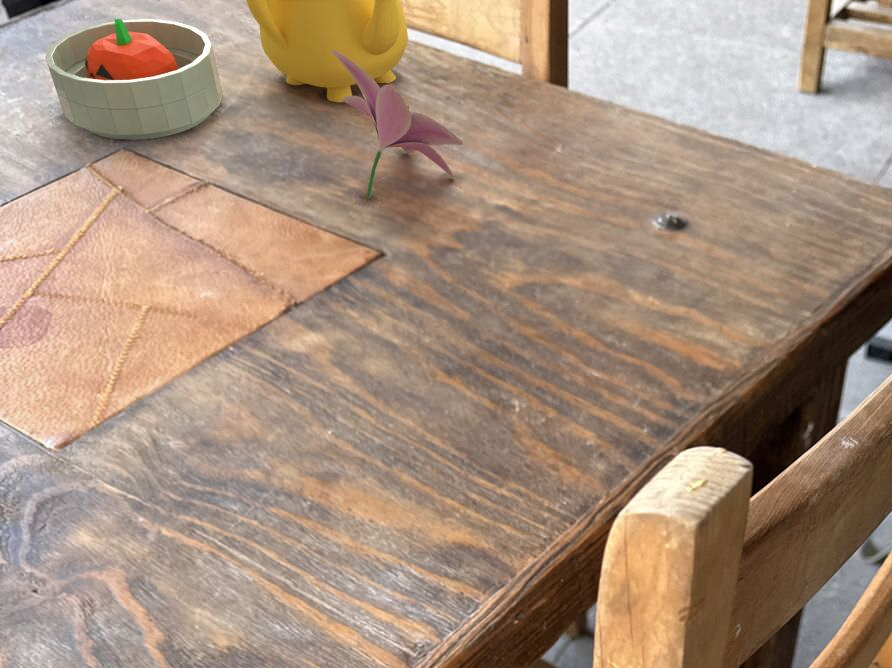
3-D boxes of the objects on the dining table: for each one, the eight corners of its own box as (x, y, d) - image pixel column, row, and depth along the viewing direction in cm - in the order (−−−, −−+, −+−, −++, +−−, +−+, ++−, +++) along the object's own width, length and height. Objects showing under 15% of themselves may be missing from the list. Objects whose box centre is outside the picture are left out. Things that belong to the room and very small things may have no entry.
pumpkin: (166, 122, 103) (145, 41, 98) (84, 112, 104) (59, 31, 99) (200, 90, 108) (182, 11, 103) (121, 80, 109) (99, 1, 104)
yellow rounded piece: (266, 116, 107) (236, -35, 97) (272, 54, 115) (245, -91, 106) (417, 110, 108) (402, -40, 98) (412, 49, 116) (398, -95, 107)
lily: (470, 227, 97) (494, 98, 93) (333, 188, 91) (352, 49, 87) (424, 212, 106) (444, 93, 102) (296, 176, 100) (312, 49, 96)
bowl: (51, 146, 102) (30, 84, 98) (81, 79, 111) (63, 20, 107) (214, 143, 103) (200, 81, 99) (232, 77, 111) (219, 18, 108)
